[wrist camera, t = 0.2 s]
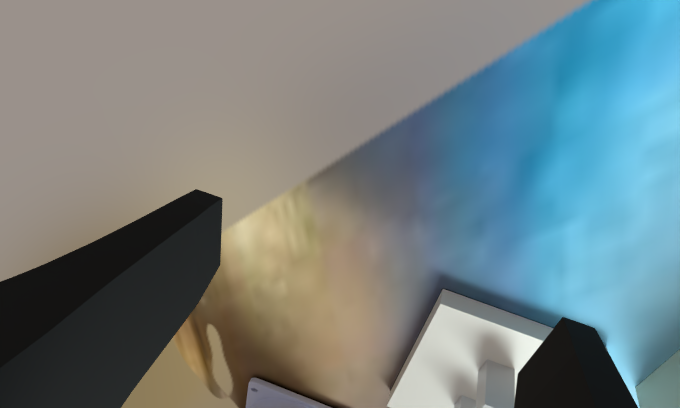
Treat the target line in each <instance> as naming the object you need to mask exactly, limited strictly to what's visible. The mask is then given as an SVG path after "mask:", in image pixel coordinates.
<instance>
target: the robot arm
mask: <svg viewBox="0 0 680 408" xmlns="http://www.w3.org/2000/svg"><path fill="white" fill-rule="evenodd" d="M221 223H222V198H220V197H217V196H214V195H212V194H209V193H206V192H203V191H200V190H194V191H192V192H190V193H188V194H186V195H184V196H182V197H180V198H178V199H176V200H174V201H172V202H170V203H168V204H166V205H165V206H163V207H161V208H159V209H157V210H155V211H153V212H151V213H149V214H147V215H146V216H144V217H142V218H140V219H138V220H136V221H134V222H132V223H130V224H128V225H126V226H124V227H122V228H120V229H118V230H116V231H114V232H112V233H110V234H108V235H106V236H104V237H102V238H100V239H98V240H96V241H94V242H92V243H90V244H88V245H86V246H84V247H81V248H79V249H77V250H75V251H73V252H70V253H68V254H66V255H64V256H62V257H59V258H57V259H55V260H53V261H51V262H48V263H46V264H44V265H41V266H39V267H37V268H35V269H32V270H29V271H27V272H24V273H22V274H19V275H17V276H15V277H12V278H9V279H7V280H4V281H1V282H0V408H121V407H122V405H123V403H124V402H125V401H126V399H127V398H128V396H129V395H130V393H131V392H132V391H133V389H134V388H135V387H136V385H137V384H138V383H139V381H140V380H141V379H142V377H143V376H144V375H145V373H146V372H147V371H148V369H149V368H150V367H151V365H152V364H153V363H154V361H155V360H156V359H157V357H158V356H159V355H160V354H161V352H162V351H163V350H164V348H165V347H166V346H167V344H168V343H169V342H170V340H171V339H172V338H173V336H174V335H175V334H176V332H177V331H178V330H179V328H180V327H181V326H182V324H183V323H184V322H185V320H186V319H187V318H188V316H189V315H190V313H191V312H192V311H193V309H194V308H195V307H196V305H197V304H198V302H199V301H200V299H201V297H202V296H203V294H204V292H205V290H206V289H207V287H208V285H209V284H210V282H211V280H212V278H213V276H214V275H215V273H216V271H217V269H218V267H219V266H220V254H221ZM246 408H332V407H329V406H327V405H324V404H322V403H319V402H317V401H314V400H312V399H309V398H307V397H304V396H301V395H299V394H296V393H294V392H291V391H289V390H286V389H284V388H281V387H279V386H276V385H274V384H271V383H269V382H266V381H264V380H261V379H259V378H251V380H250V382H249V385H248V392H247V400H246ZM514 408H638V407H637V405H636V403H635V401H634V399H633V397H632V396H631V394H630V392H629V390H628V388H627V386H626V385H625V383H624V381H623V379H622V377H621V375H620V374H619V372H618V370H617V368H616V366H615V364H614V362H613V360H612V359H611V357H610V355H609V353H608V351H607V349H606V348H605V346H604V344H603V342H602V340H601V338H600V337H599V335H598V333H597V331H596V330H595V328H593V327H590V326H587V325H584V324H581V323H579V322H576V321H573V320H570V319H567V318H564V317H562V319H561V320H560V321H559V322H558V324H557V325H556V326H555V328H554V329H553V330H552V331H551V333H550V334H549V335H548V336H547V338H546V339H545V340H544V341H543V343H542V344H541V345H540V346H539V348H538V349H537V350H536V351H535V353H534V354H533V355H532V356H531V358H530V359H529V360H528V361H527V363H526V364H525V365H524V366H523V368H522V369H521V370H520V371H519V373H518V377H517V385H516V394H515V402H514Z"/></svg>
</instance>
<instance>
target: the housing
mask: <svg viewBox="0 0 680 408" xmlns="http://www.w3.org/2000/svg"><path fill="white" fill-rule="evenodd" d="M635 389H636V393H637V397H638V402H639V406H640V408H680V349H679V350H678V351H677V352H676V353H675V354H674V355H672V356H671V357H670V358H669V359H668V360H667V361H665V362H664V363H663V364H662V365H661V366H660V367H658V368H657V369H656V370H655V371H654V372H653V373H652V374H650V375H649V376H648V377H647V378H646V379H645V380H643V381H642V382H641V383H640V384H639V385H638V386H637V387H635Z"/></svg>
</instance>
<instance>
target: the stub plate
mask: <svg viewBox="0 0 680 408" xmlns="http://www.w3.org/2000/svg"><path fill="white" fill-rule="evenodd" d="M553 329H554V328H551V327H548V326H546V325H543V324H540V323H537V322H534V321H532V320H529V319H526V318H523V317H521V316H518V315H515V314H512V313H509V312H507V311H504V310H501V309H498V308H495V307H493V306H490V305H487V304H484V303H481V302H479V301H476V300H473V299H470V298H467V297H465V296H462V295H459V294H456V293H453V292H451V291H448V290H445V289H442V291H441V293H440V295H439V297H438V299H437V301H436V303H435V305H434V307H433V309H432V311H431V313H430V315H429V317H428V319H427V321H426V323H425V325H424V327H423V328H422V330H421V332H420V334H419V336H418V338H417V340H416V342H415V344H414V346H413V348H412V350H411V352H410V354H409V356H408V358H407V360H406V362H405V364H404V366H403V367H402V369H401V371H400V373H399V375H398V377H397V379H396V381H395V383H394V385H393V387H392V389H391V391H390V394H389V399H388V403H387V406H388V407H391V408H514V402H515V394H516V385H517V377H518V373H519V371H520V370H521V369H522V368H523V366H524V365H525V364H526V363H527V361H528V360H529V359H530V358H531V356H532V355H533V354H534V353H535V351H536V350H537V349H538V348H539V346H540V345H541V344H542V343H543V341H544V340H545V339H546V338H547V336H548V335H549V334H550V333H551V331H552V330H553ZM605 348H606V349H607V347H605Z"/></svg>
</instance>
